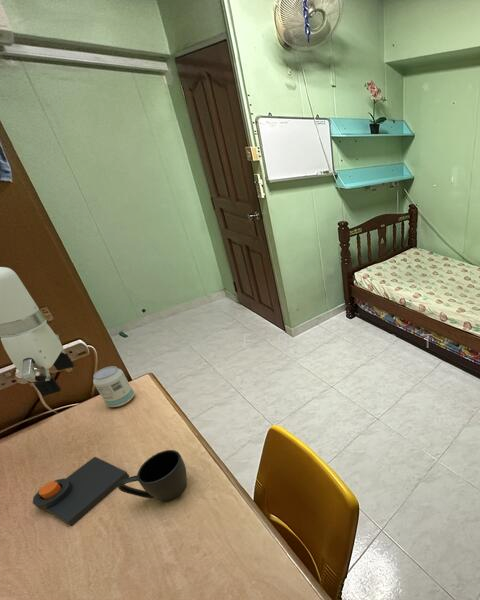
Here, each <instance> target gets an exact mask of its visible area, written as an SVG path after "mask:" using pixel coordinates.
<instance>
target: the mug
mask: <svg viewBox="0 0 480 600" xmlns="http://www.w3.org/2000/svg"><path fill="white" fill-rule="evenodd" d="M186 467H187V466H186V464H185V461H184V460H183V457H182V455H181V454H180V452H178V451H177V450H175V449H166V450H163V451H160V452H157V453H156V454H153V455H152V456H150V457H149V458H147V459H146V460H145V461H144V462H143V464H141V466H140V468H139V469H138V471H137V474H136V475H132V476H129V477H128V478H125V479H123V480H121V481H120V482H119V483H118V487H117V488H118V490H119V491H121V492H123V493H126V494H129V495H132V496H137V497H140V498H145V499H157V500H160V501H161V502H165V503H167V502H168V503H169V502H173V501H174V500H176V499H177V498H179V497H180V496H181V495H182V494H183V493H184V492H185V490H186V488H187V468H186ZM133 482H138V483H139V484H140V486H141V487H142V490H141V489H139V488H134V487H132V486H129V485H126V484H129V483H133Z"/></svg>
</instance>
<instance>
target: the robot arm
mask: <svg viewBox="0 0 480 600" xmlns="http://www.w3.org/2000/svg"><path fill="white" fill-rule="evenodd" d="M47 322H48V321H47V319H46V317H45V316H44V314H43V312H42V311H41V310H40V308H39V307H38V305H37V303H36V302H35V300H34V299H33V297H32V296H31V293H29V290H27V288H26V286H25V285H24V283H23V282H22V280H21V279H20V276H19V275H18V274H17V273H16V272H15V270H13V269H12V268H10V267H5V266H0V342H1V344H2V346H3V349H4V350H5V352H6V354H7V356H8V357H9V359H10V361H11V362H12V364H13V366H14V367H15V368H16V370H17V371H18V372H19V374H20V375H21V379H23V380H25V381H26V382H27V383H28V384H31V385H34V386H35V388H36V389H37V391H38V392H39V393H40V395H42V396H47V395H52V394H56V393H59V392H61V390H62V388H61V386H60V384H59V383H58V382H57V381H56V380H55V378H54V377H53V376H52V377H51V374H50V369H51V368H52V367H53V366H54V368H55V369H56V370H57V371H63V370H67V369H70V368H74V366H75V364H74V363H73V361H72V359H71V358H70V356H69V355H68V353H67V350H66V349H65V348H64V346H63V342H61V339H60V336H59V334H57V333H55V332H54V331H53V329H52V328H51V326H50V325H49V324H48V323H47ZM41 372H42V375H40V374H39V375H37V373H41Z"/></svg>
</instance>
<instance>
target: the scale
mask: <svg viewBox="0 0 480 600" xmlns="http://www.w3.org/2000/svg"><path fill="white" fill-rule="evenodd" d="M128 477H130V475H129V473H128V472H127V471H125V470H123V469H122V468H120V467H118V466H115V465H113V464H111V463H109V462H107V461H105V460H103V459H101V458H99V457H97V456H94V457H92V458H91V459H90V460H88V461H87V462H85V463H84V464H82V466H80V467H79V468H78V469H76V470H74V472H73V473H71V474H70V475H68V476H67V477H65V478H59V479H55V480H54V481H55V482H57V483H58V484H59V485H60V486H61V490H60V491H59V492H58V493H57V494H56V495H54V496H53V497H51V498H49V499H44V498H43V497H42V496H41V495H40V494H39V490H38V491H37V492H36V493H35V495H34V496H33V498H32V504H33V506H35V507H36V508H38V509H39V510H44V511H45V512H47V513H49V514H50V515H52V516H54V518H55V517H56V518H57V519H59V520H60V521H62V522H64V523H65V524H67V525H68V526H70V527H73V526H74V525H75V524H77V523H78V522H79V521H80V520H81V519H82V518H84V516H86V515H87V514H88V513H89V512H90V511H91V510H93V509H94V508H95V507H96V506H98V505H99V504H100V503H101V502H102V501H103V500H104V499H106V497H108V496H110V494H111V493H113V491H115V489H117V488H118V483H119V482H120V481H121V480H123V479H125V478H128Z"/></svg>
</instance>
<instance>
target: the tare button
mask: <svg viewBox="0 0 480 600" xmlns="http://www.w3.org/2000/svg"><path fill="white" fill-rule="evenodd" d="M60 490H61V486H60V485H59V484H58V483H57V482H55V480H53V481H50V482H48V483H46V484H44V485H43V486H42V487H41V488H39V490H38V491H39V494H40V495H41V496H42V497H43V498H44V499H49V498H51V497H53V496H54V495H56V494H57V493H58V492H59V491H60Z"/></svg>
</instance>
